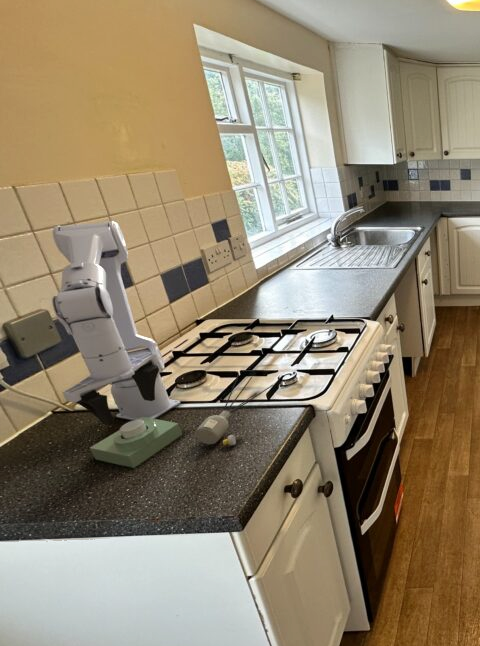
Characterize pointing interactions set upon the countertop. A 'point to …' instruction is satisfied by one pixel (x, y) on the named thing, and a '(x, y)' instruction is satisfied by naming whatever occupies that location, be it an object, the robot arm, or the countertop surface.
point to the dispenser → (137, 443)
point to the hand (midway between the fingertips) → (130, 411)
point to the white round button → (133, 429)
